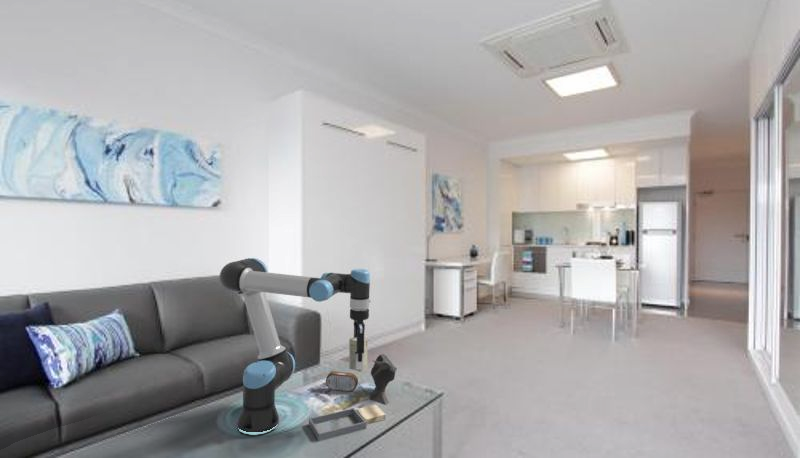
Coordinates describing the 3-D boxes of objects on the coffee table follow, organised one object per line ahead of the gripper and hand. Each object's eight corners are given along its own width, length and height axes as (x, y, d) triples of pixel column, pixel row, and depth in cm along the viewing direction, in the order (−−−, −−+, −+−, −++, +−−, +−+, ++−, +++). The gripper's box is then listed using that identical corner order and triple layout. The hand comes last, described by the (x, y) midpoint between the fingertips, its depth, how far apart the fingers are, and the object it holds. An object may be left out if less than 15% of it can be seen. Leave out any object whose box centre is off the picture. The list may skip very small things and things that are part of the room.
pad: (365, 424, 162) (365, 419, 162) (356, 413, 169) (356, 409, 169) (385, 419, 166) (385, 414, 166) (375, 409, 174) (375, 404, 174)
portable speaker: (358, 390, 191) (358, 372, 190) (356, 393, 188) (357, 375, 187) (326, 387, 192) (327, 370, 192) (324, 390, 189) (325, 372, 189)
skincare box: (367, 368, 163) (368, 339, 162) (361, 372, 160) (362, 342, 159) (354, 365, 167) (355, 335, 166) (348, 368, 163) (349, 338, 162)
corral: (318, 440, 149) (318, 434, 149) (308, 424, 160) (308, 418, 160) (366, 428, 159) (366, 422, 159) (353, 413, 170) (353, 407, 169)
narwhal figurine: (403, 391, 191) (405, 354, 190) (385, 404, 178) (387, 364, 177) (378, 383, 199) (379, 347, 197) (359, 395, 185) (360, 357, 184)
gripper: (372, 315, 153) (371, 374, 154) (365, 302, 172) (364, 355, 173) (352, 315, 151) (351, 376, 152) (347, 302, 170) (346, 356, 172)
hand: (358, 364), depth 163 cm, fingers closed on skincare box, 7 cm apart
